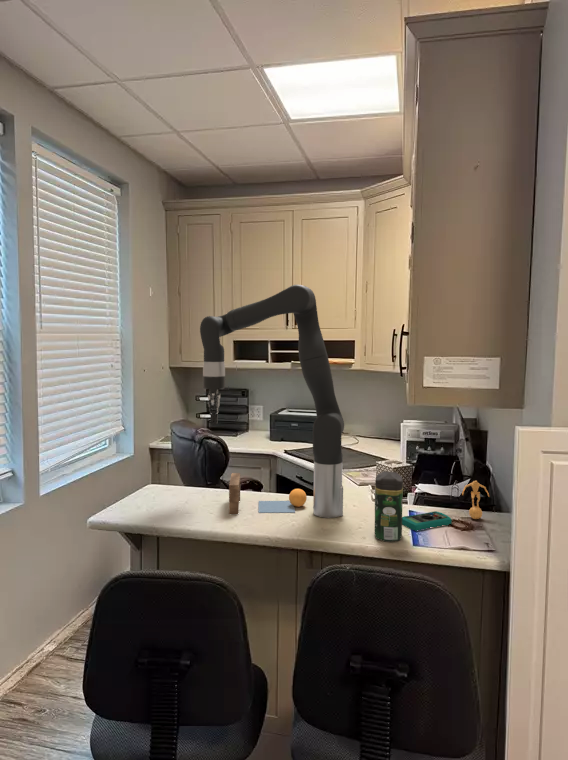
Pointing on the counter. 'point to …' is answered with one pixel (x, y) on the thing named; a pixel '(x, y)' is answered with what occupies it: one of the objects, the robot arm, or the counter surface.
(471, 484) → the figurine
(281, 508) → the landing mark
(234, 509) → the bridge
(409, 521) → the digital multimeter
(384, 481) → the coffee jar
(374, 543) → the counter surface
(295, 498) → the ball
